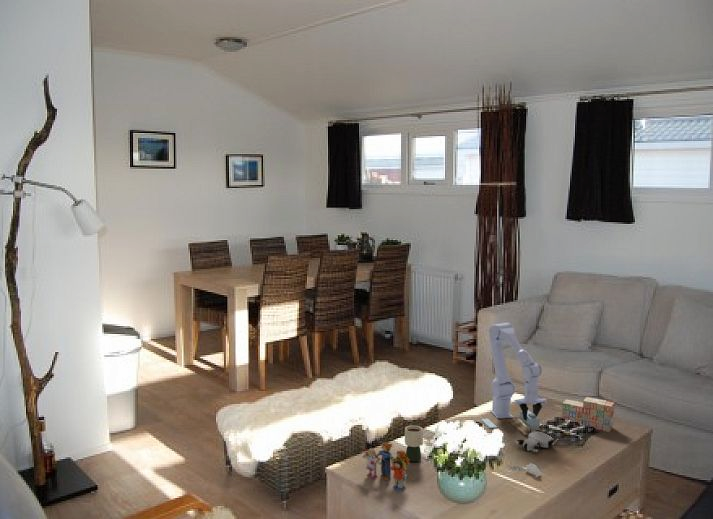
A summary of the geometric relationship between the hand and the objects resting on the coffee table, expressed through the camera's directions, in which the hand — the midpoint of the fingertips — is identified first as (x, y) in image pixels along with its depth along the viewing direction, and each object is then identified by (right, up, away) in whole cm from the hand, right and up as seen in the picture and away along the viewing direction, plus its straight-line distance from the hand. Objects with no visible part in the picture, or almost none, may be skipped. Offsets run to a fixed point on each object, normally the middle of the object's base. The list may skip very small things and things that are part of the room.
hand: (529, 419), depth 285 cm
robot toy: (-3, -7, -19) cm, 21 cm away
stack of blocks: (+28, -4, +5) cm, 29 cm away
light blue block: (0, -3, 0) cm, 3 cm away
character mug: (-55, -8, -32) cm, 65 cm away
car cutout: (-13, -10, -40) cm, 44 cm away
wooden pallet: (0, -4, 0) cm, 4 cm away
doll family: (-66, -10, -49) cm, 83 cm away
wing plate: (-17, -4, +5) cm, 19 cm away
